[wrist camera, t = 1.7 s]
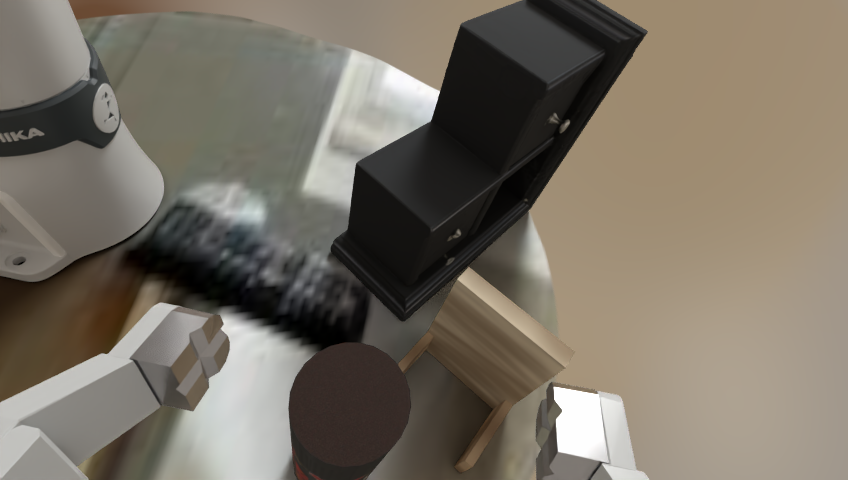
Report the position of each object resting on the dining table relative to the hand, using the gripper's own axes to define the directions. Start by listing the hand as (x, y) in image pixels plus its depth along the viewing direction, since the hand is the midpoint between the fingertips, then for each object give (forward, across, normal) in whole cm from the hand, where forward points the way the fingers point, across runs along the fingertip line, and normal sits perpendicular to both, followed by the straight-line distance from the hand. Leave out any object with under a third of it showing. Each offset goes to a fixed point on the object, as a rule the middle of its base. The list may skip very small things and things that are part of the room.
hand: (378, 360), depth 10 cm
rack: (+15, -2, +25) cm, 29 cm away
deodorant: (+8, +6, +25) cm, 27 cm away
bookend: (+33, +2, +20) cm, 39 cm away
